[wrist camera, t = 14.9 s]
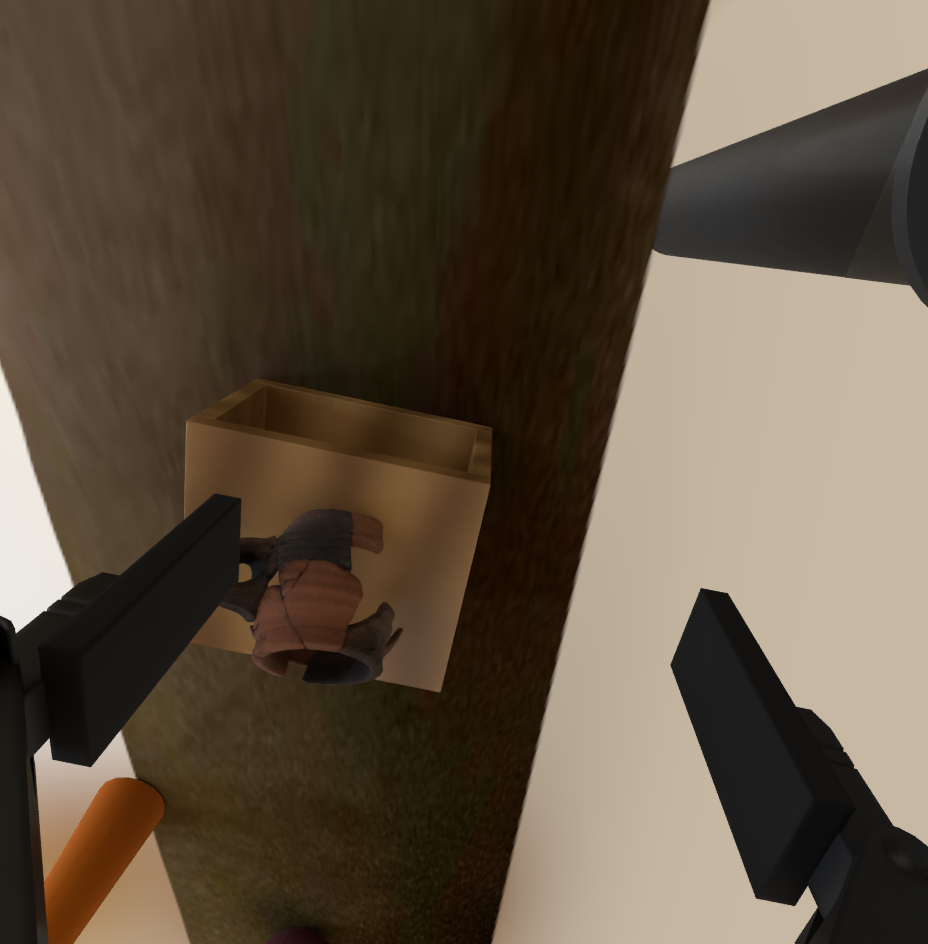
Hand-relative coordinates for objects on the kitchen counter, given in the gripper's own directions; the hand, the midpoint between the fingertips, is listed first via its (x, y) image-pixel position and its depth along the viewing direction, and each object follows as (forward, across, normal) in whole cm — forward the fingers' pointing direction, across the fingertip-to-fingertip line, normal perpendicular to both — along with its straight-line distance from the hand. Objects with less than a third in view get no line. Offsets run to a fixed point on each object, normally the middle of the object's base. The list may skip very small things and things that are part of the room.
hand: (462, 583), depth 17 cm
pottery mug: (+17, -8, -12) cm, 23 cm away
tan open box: (+28, -8, -12) cm, 32 cm away
